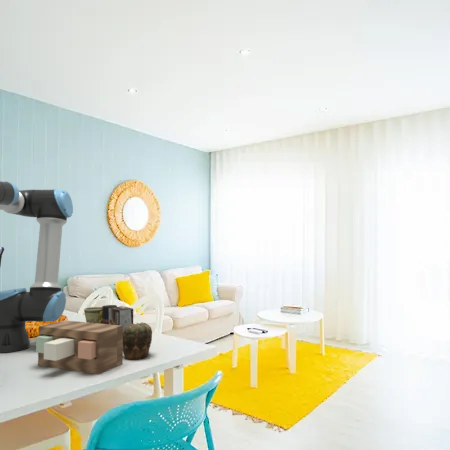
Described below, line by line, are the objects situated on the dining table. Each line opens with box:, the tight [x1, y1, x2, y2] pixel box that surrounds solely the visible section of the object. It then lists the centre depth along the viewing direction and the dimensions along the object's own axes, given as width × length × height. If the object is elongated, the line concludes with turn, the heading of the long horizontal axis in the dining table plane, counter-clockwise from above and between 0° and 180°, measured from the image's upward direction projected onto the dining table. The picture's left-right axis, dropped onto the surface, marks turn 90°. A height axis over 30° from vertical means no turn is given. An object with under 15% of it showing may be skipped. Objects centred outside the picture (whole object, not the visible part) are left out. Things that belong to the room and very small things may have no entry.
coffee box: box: [109, 305, 134, 333], centre depth 159 cm, size 9×6×16 cm
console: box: [37, 319, 124, 375], centre depth 138 cm, size 26×12×13 cm, turn 67°
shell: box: [123, 322, 153, 361], centre depth 148 cm, size 11×11×12 cm
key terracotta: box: [78, 339, 97, 360], centre depth 131 cm, size 5×9×5 cm, turn 157°
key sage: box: [35, 335, 54, 353], centre depth 138 cm, size 5×9×5 cm, turn 157°
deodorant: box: [101, 304, 118, 324], centre depth 171 cm, size 6×6×15 cm
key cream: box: [44, 337, 75, 361], centre depth 130 cm, size 5×9×5 cm, turn 157°
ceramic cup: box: [83, 306, 102, 324], centre depth 196 cm, size 13×10×10 cm
